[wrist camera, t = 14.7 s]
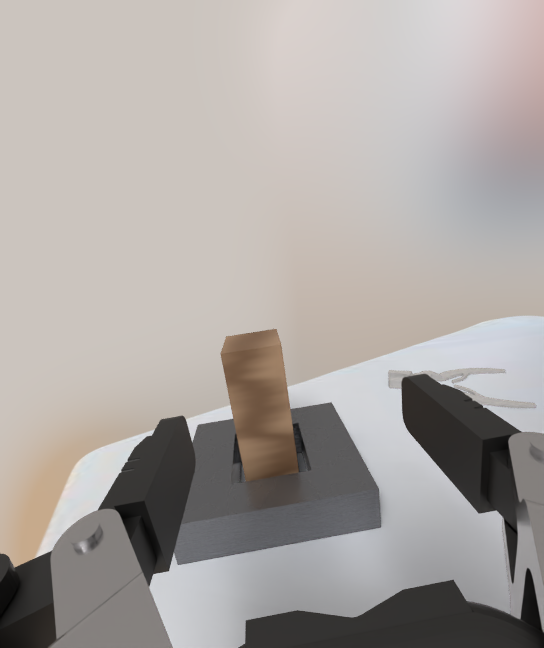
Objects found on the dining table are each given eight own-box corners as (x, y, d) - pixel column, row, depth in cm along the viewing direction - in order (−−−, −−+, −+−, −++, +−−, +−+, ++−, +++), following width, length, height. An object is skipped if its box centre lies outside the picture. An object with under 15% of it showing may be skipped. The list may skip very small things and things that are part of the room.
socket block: (334, 429, 32) (331, 402, 32) (380, 527, 21) (378, 488, 20) (204, 451, 32) (198, 424, 31) (177, 564, 20) (166, 526, 19)
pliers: (537, 399, 31) (388, 391, 36) (536, 412, 31) (389, 402, 37) (503, 362, 39) (388, 361, 45) (503, 373, 40) (388, 370, 46)
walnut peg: (295, 460, 29) (276, 328, 25) (302, 497, 24) (281, 344, 21) (251, 467, 28) (226, 336, 25) (250, 506, 24) (220, 353, 21)
